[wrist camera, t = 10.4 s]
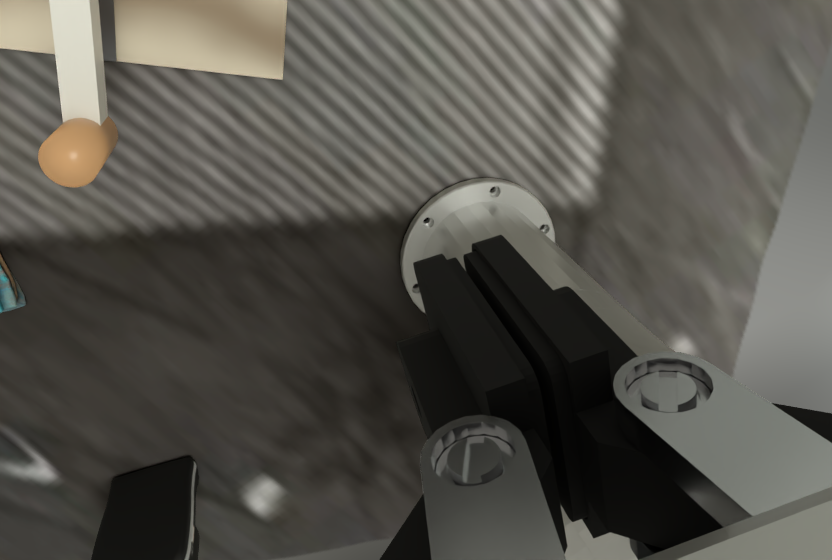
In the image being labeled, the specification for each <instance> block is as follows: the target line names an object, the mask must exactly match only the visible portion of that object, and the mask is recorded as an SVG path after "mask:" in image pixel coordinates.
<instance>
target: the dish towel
mask: <svg viewBox="0 0 832 560" xmlns="http://www.w3.org/2000/svg"><path fill="white" fill-rule="evenodd" d="M25 305H26V301H25V296H24V294H23V292H22V290H21V288H20V286H19V284H18V282H17V281H16V279H15V277H14V276H13V274H12V273H11V271H10V269H9V268H8V266H7V265H6V263H5V262H4V260H3V258H2V256H1V254H0V312H5V311H10V310H13V309H16V308H19V307H23V306H25Z"/></svg>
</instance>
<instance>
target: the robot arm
mask: <svg viewBox="0 0 832 560" xmlns="http://www.w3.org/2000/svg"><path fill="white" fill-rule="evenodd" d="M492 187H494V189H493V190H492V191H490V189H491V188H492ZM425 218H428V220H427V221H424V219H425ZM540 226H541V227H540ZM400 268H401V274H402V279H403V282H404V284H405V287H406V289H407V292H408V293H409V295H410V297H411V299H412V301H413V302H414V303H415V304H416V305H417V307H418V308H419V309H420V310H421V311H422V312H423V313H425V314H426V317H427V320H428V324H429V328H430V331H428V332H425V333H422V334H419V335H416V336H413V337H410V338H407V339H404V340H401V341H398V342H396V343H397V347H398V351H399V355H400V358H401V361H402V365H403V368H404V371H405V375H406V378H407V381H408V384H409V388H410V391H411V394H412V397H413V400H414V403H415V406H416V409H417V412H418V415H419V417H420V420H421V423H422V426H423V428H424V431H425V434H426V436H427V439H428V440H427V441H426V443H425V445H424V447H423V449H422V451H421V458H420V470H421V478H422V486H423V495H422V497H421V498H420V500H419V501H418V503H417V504H416V506H415V507H414V509H413V510H412V512H411V513H410V515H409V516H408V518H407V519H406V521H405V522H404V524H403V525H402V527H401V528H400V530H399V531H398V533H397V534H396V536H395V537H394V539H393V540H392V542H391V543H390V545H389V546H388V548H387V549H386V551H385V553H384V554H383V555H382V557H381V558H380V560H832V414H831V413H825V412H819V411H814V410H808V409H802V408H797V407H791V406H785V405H779V404H774V403H770V402H768V401H767V400H765V399H764V398H762V397H761V396H759V395H758V394H756V393H755V392H753V391H751V390H750V389H749V388H747V387H746V386H744V385H742V384H741V383H739V382H738V381H736V380H735V379H733V378H732V377H730V376H729V375H727V374H726V373H724V372H723V371H721V370H720V369H718V368H717V367H715V366H714V365H712V364H711V363H709V362H707V361H705V360H703V359H701V358H698V357H696V356H693V355H689V354H685V353H681V352H675V351H674V350H672V349H671V348H670V347H669V346H667V345H666V344H665V343H664V342H662V341H661V340H660V339H659V338H657V337H656V336H655V335H654V334H653V333H651V332H650V331H649V330H648V329H647V328H646V327H645V326H643V325H642V324H641V323H640V322H639V321H638V320H637V319H636V318H634V317H633V316H632V315H631V314H630V313H629V312H628V311H627V310H626V309H625V308H624V307H623V306H622V305H620V304H619V303H618V302H617V301H616V300H615V299H614V298H613V297H612V296H611V295H610V294H609V293H608V292H606V291H605V290H604V289H603V288H602V287H601V286H600V285H599V284H598V283H597V282H596V281H595V280H594V279H593V278H591V277H590V276H589V275H588V274H587V273H586V272H585V271H584V270H583V269H582V268H581V267H580V266H579V265H578V264H576V263H575V262H574V261H573V260H572V259H571V258H570V257H569V256H568V255H567V254H566V253H565V252H564V251H563V250H561V249H560V248H559V247H558V246H557V245H556V244H555V232H554V228H553V224H552V220H551V218H550V216H549V214H548V212H547V210H546V209H545V207H544V206H543V205H542V204H541V202H540V201H539V200H538V199H537V198H536V197H535V196H534V195H532V194H531V193H530V192H529V191H527V190H526V189H524V188H523V187H521V186H519V185H518V184H515V183H512V182H510V181H507V180H504V179H496V178H477V179H471V180H467V181H464V182H460V183H457V184H455V185H453V186H451V187H449V188H447V189H444V190H443V191H442V192H440V193H439V194H437V195H436V196H434V197H433V198H431V199H430V200H429V201H428V202H427V203H426V204H425V205H424V206H423V207H422V208H421V209H420V210H419V212H418V213H417V215H416V216H415V218H414V219H413V220H412V222H411V223H410V226H409V228H408V230H407V232H406V234H405V236H404V240H403V244H402V248H401V256H400ZM415 284H417V285H416V286H414V285H415Z"/></svg>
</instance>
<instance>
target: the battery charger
mask: <svg viewBox="0 0 832 560" xmlns="http://www.w3.org/2000/svg"><path fill="white" fill-rule="evenodd" d="M198 479H199V476H198V470H197V468H196V463H195V461H193V459H192V458H191V457H187V458H183V459H179V460H175V461H171V462H167V463H164V464H160V465H156V466H153V467H149V468H146V469H143V470H140V471H136V472H133V473H130V474H127V475H123V476H120V477H117V478H114V479H113V480H112V483H111V489H110V494H109V498H108V502H107V506H106V509H105V512H104V515H103V519H102V522H101V525H100V528H99V532H98V535H97V539H96V542H95V546H94V550H93V554H92V559H91V560H198V552H199V533H198V530H197V528H196V526H195V497H196V489H197V486H198Z"/></svg>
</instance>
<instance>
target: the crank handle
mask: <svg viewBox="0 0 832 560" xmlns="http://www.w3.org/2000/svg"><path fill="white" fill-rule="evenodd" d="M49 4H50V12H51V21H52V30H53V39H54V48H55V56H56V65H57V74H58V83H59V92H60V100H61V109H62V118H63V124H62V125H61V126H60V127H59V128H58V129H57V130H56V131H55V132H53V133H52V134H51V135H50V136H49V137H48V138H47V139H46V140H45V141H44V142H43V144H42V145H41V147H40V149H39V154H38V159H39V164H40V167H41V168H42V170H43V172H44V173H45V174H46V176H47V177H49V178H50V179H51V180H52V181H54V182H56V183H57V184H60V185H62V186H66V187H81V186H84V185H87V184H88V183H90V182H91V181H93V179H94V178H95V177H96V176H97V174H98V172H99V171H100V169H101V168H102V166H103V165H104V163H105V162H106V160H107V158H108V157H109V155H110V154H111V152H112V151H113V149H114V148H115V146H116V144H117V141H118V131H117V128H116V125H115V124H114V122H113V121H112V120H111V119H110V117H108V109H107V97H106V85H105V73H104V61H103V49H102V37H101V25H100V13H99V1H98V0H49Z"/></svg>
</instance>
